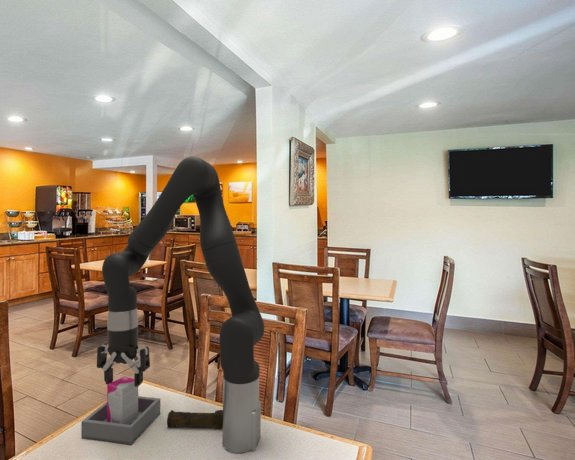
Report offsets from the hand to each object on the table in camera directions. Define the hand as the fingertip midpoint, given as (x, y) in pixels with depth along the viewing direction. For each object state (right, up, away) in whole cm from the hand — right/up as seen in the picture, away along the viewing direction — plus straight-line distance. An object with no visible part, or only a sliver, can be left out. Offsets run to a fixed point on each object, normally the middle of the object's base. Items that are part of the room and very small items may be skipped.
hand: (123, 384), depth 93 cm
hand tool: (+21, -13, +2) cm, 25 cm away
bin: (0, -12, +1) cm, 12 cm away
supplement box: (-1, -11, +1) cm, 11 cm away
